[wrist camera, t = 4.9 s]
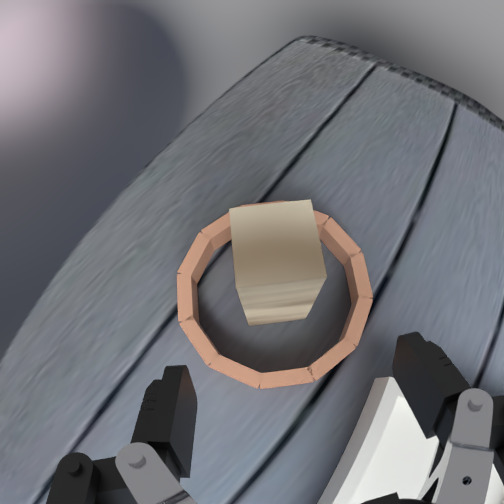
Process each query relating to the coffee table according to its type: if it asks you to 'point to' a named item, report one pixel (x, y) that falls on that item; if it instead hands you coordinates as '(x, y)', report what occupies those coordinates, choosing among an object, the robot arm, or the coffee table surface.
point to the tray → (388, 453)
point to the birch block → (276, 260)
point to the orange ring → (347, 343)
